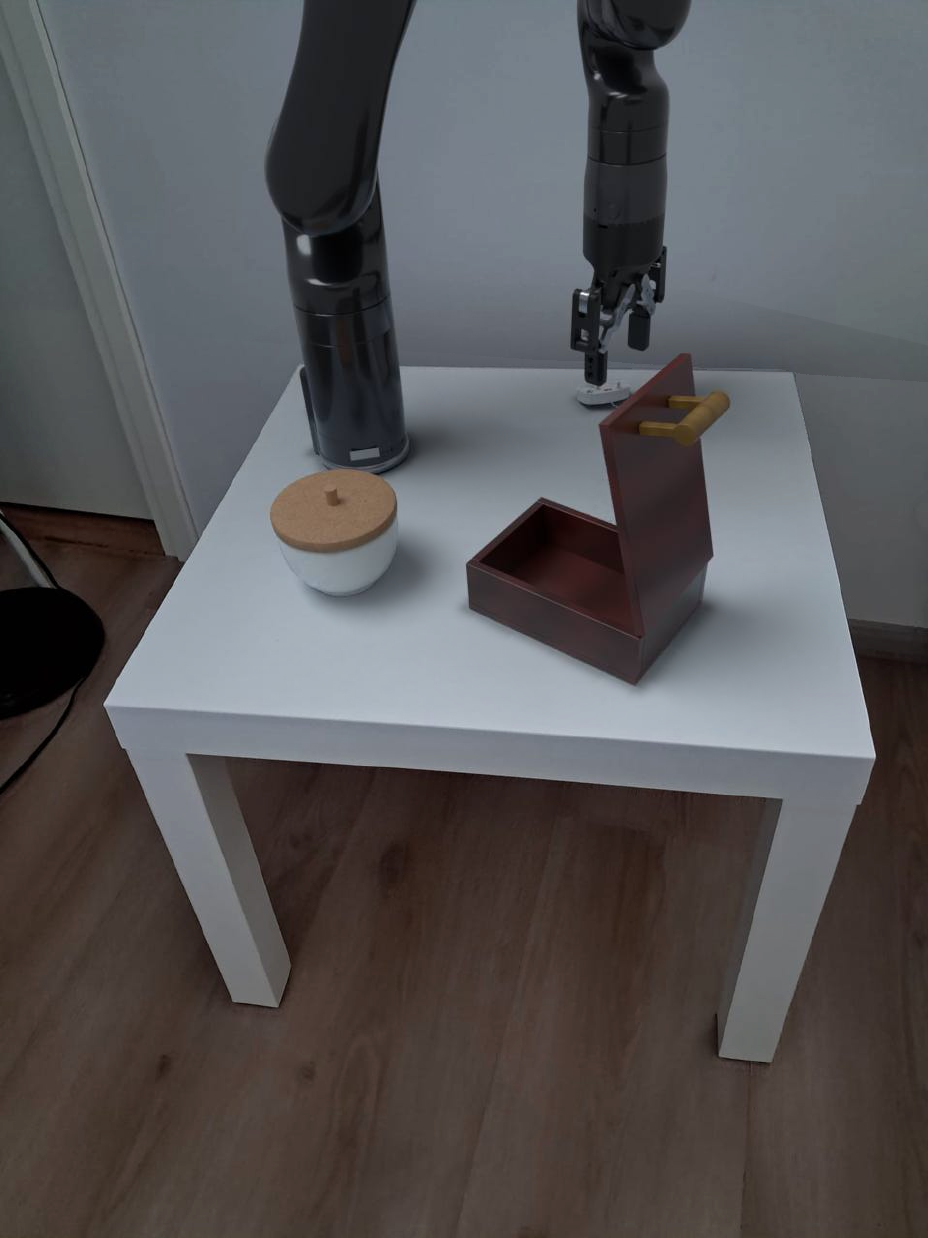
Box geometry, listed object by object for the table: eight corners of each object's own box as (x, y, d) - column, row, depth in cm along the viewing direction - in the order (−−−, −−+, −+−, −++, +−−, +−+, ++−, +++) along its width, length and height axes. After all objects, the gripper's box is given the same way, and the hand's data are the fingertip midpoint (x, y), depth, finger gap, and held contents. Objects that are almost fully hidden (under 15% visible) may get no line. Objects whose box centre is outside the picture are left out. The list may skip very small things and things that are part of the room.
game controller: (609, 382, 106) (610, 361, 105) (676, 426, 99) (678, 405, 97) (568, 397, 104) (569, 376, 103) (633, 443, 97) (635, 421, 95)
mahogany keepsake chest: (468, 608, 80) (465, 563, 76) (541, 541, 86) (541, 496, 83) (635, 686, 72) (639, 639, 69) (701, 606, 78) (708, 559, 75)
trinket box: (388, 620, 79) (374, 532, 73) (269, 608, 81) (246, 521, 75) (418, 542, 87) (408, 456, 81) (308, 533, 89) (290, 448, 83)
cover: (597, 423, 59) (668, 429, 56) (680, 352, 66) (748, 354, 63) (635, 634, 69) (697, 649, 66) (704, 554, 75) (764, 564, 72)
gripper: (628, 174, 92) (621, 330, 103) (547, 223, 84) (548, 386, 95) (697, 186, 88) (682, 346, 99) (619, 238, 81) (612, 405, 92)
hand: (617, 365), depth 97 cm, fingers open, 8 cm apart
